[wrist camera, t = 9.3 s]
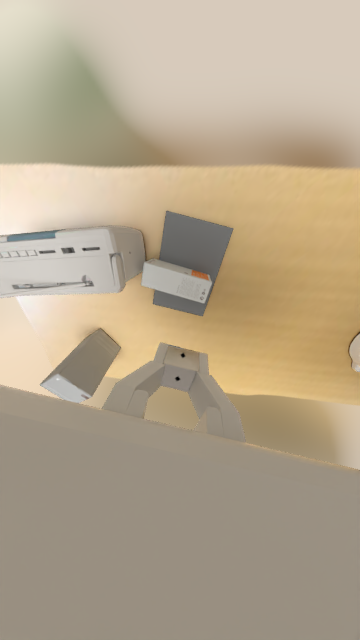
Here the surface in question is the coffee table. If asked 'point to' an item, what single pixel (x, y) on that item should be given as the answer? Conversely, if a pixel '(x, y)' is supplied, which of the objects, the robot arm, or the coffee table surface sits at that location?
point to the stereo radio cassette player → (70, 261)
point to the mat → (191, 255)
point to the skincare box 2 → (176, 280)
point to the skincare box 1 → (83, 368)
